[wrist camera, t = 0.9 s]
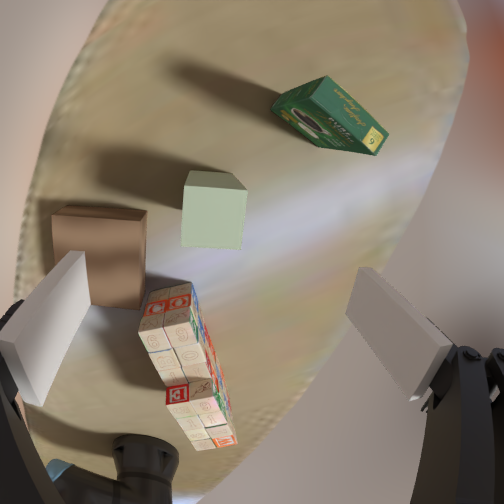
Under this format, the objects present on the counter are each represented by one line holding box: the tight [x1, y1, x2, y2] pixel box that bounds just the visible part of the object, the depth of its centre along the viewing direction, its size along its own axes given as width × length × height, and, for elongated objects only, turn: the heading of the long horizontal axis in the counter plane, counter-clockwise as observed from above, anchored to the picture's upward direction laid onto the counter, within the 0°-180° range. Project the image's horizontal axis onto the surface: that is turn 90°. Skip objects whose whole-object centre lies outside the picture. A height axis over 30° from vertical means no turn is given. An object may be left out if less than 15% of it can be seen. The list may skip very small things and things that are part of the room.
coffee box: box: [270, 75, 389, 156], centre depth 27 cm, size 8×3×13 cm, turn 55°
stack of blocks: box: [138, 283, 238, 451], centre depth 37 cm, size 21×6×12 cm, turn 11°
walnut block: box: [51, 205, 147, 310], centre depth 33 cm, size 11×11×5 cm
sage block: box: [181, 170, 248, 250], centre depth 29 cm, size 5×5×12 cm
